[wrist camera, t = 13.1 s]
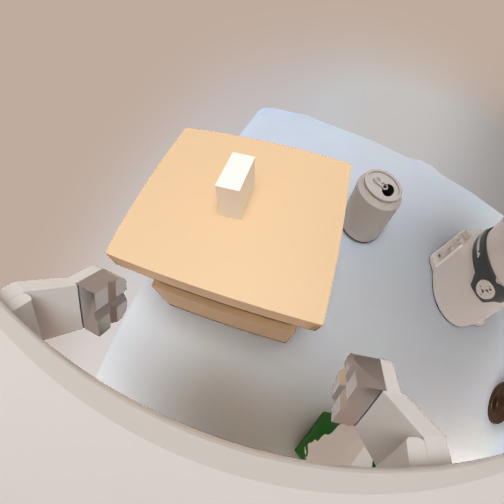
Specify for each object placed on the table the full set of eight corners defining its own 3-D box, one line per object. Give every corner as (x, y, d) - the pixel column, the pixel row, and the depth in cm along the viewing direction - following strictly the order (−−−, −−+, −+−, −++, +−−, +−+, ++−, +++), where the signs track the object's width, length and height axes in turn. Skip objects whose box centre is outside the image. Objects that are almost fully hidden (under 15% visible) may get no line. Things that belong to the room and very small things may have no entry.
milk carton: (367, 428, 31) (451, 451, 13) (332, 475, 27) (392, 533, 9) (321, 403, 33) (386, 421, 15) (284, 452, 30) (315, 513, 12)
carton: (208, 218, 46) (200, 186, 39) (311, 247, 44) (322, 218, 36) (170, 304, 39) (151, 285, 32) (285, 342, 37) (294, 333, 29)
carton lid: (189, 142, 32) (180, 101, 26) (345, 178, 29) (361, 137, 24) (116, 264, 25) (84, 230, 19) (315, 331, 22) (338, 312, 16)
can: (365, 252, 44) (395, 213, 33) (331, 226, 46) (352, 181, 35) (384, 226, 46) (412, 185, 35) (352, 202, 48) (374, 157, 37)
